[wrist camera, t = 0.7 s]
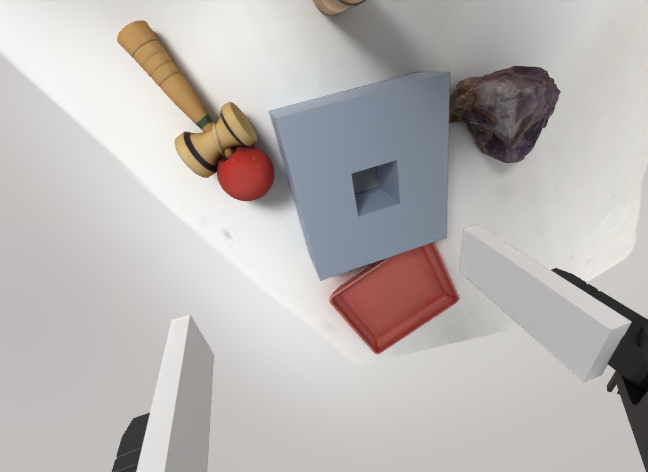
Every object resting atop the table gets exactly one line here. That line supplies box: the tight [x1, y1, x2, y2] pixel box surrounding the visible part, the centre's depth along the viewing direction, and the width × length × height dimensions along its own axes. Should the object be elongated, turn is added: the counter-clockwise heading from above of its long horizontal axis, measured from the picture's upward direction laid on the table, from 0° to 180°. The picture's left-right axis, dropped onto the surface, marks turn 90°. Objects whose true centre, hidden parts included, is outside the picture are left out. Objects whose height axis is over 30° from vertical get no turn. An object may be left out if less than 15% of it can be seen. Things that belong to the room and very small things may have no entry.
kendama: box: [117, 21, 274, 201], centre depth 29 cm, size 8×6×18 cm
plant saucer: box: [329, 242, 459, 354], centre depth 49 cm, size 18×18×3 cm
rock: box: [449, 66, 561, 163], centre depth 35 cm, size 12×9×10 cm
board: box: [269, 72, 450, 281], centre depth 36 cm, size 20×18×6 cm
